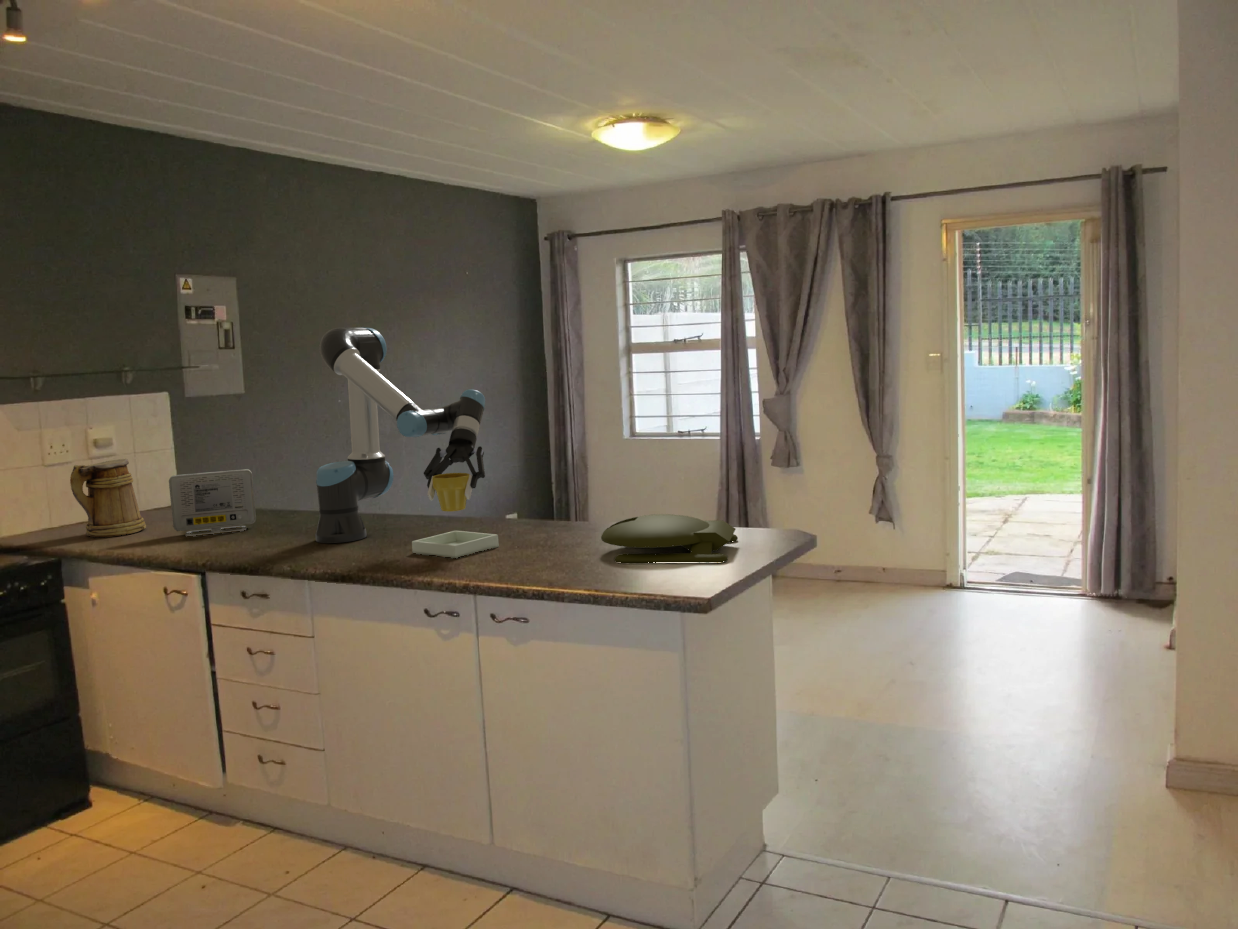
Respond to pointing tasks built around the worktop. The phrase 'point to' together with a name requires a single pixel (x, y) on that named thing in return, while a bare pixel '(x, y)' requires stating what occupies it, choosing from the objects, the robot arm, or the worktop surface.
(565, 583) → the worktop surface
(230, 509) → the network device
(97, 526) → the tankard
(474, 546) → the tray
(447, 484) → the plant pot
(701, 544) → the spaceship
